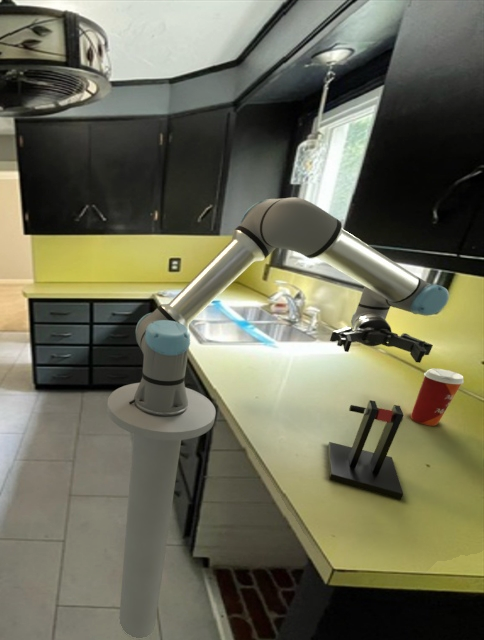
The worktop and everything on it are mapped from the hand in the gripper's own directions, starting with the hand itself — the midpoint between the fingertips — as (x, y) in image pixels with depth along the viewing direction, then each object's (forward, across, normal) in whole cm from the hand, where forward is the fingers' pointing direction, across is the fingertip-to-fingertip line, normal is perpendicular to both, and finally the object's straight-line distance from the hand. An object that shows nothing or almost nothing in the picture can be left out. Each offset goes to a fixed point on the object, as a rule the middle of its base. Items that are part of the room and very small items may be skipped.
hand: (383, 351), depth 85 cm
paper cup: (-17, -17, -22) cm, 33 cm away
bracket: (+19, 0, -22) cm, 29 cm away
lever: (+15, 0, -11) cm, 18 cm away
